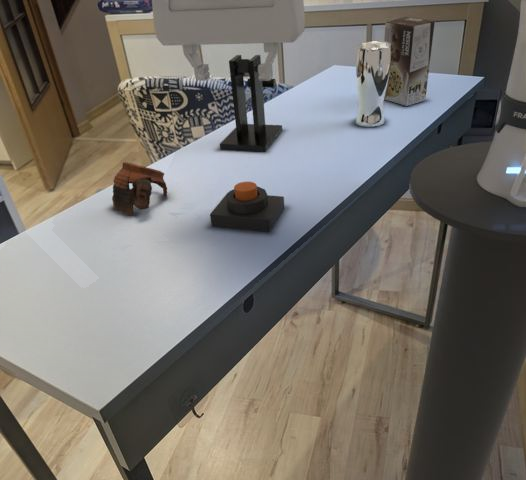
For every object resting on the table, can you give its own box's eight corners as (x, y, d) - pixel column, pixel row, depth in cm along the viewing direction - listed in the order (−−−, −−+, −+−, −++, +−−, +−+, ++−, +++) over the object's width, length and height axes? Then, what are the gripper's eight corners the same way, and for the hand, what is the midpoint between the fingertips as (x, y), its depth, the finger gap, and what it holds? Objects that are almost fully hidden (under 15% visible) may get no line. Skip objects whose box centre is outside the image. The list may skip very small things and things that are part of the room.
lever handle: (249, 90, 113) (250, 78, 113) (275, 90, 112) (276, 78, 111) (228, 72, 102) (229, 59, 101) (257, 72, 100) (258, 59, 100)
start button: (260, 192, 84) (259, 182, 83) (253, 202, 81) (252, 192, 80) (239, 190, 85) (238, 180, 84) (232, 200, 82) (230, 190, 81)
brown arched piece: (105, 205, 94) (112, 158, 92) (155, 215, 99) (163, 171, 96) (116, 214, 84) (125, 162, 82) (172, 226, 89) (182, 176, 86)
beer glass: (378, 114, 117) (383, 39, 107) (391, 124, 112) (398, 45, 102) (349, 119, 116) (351, 43, 106) (361, 130, 111) (365, 51, 101)
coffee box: (426, 100, 122) (436, 20, 111) (406, 107, 119) (414, 25, 109) (399, 92, 128) (406, 15, 117) (379, 98, 125) (384, 20, 115)
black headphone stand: (240, 129, 117) (231, 50, 106) (282, 130, 114) (278, 49, 104) (220, 149, 109) (209, 66, 98) (265, 152, 106) (259, 66, 95)
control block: (284, 208, 87) (283, 185, 84) (269, 232, 81) (268, 208, 79) (229, 204, 90) (226, 181, 87) (211, 226, 84) (207, 203, 82)
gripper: (132, -36, 64) (157, 86, 73) (291, -48, 58) (297, 86, 67) (156, -42, 68) (177, 73, 77) (306, -55, 62) (310, 72, 71)
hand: (233, 79), depth 72 cm, fingers open, 8 cm apart
